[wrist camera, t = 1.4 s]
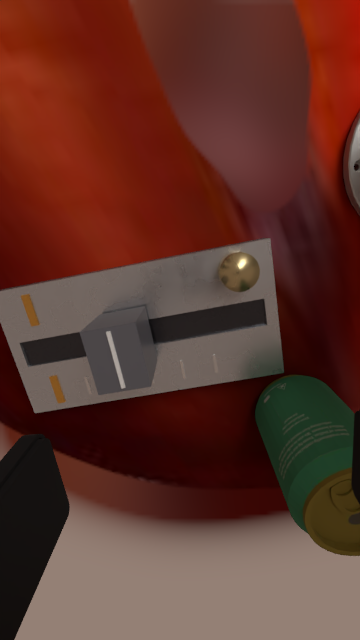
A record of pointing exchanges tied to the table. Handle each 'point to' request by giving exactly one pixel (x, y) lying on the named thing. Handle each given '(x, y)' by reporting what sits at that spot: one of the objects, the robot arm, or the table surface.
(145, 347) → the fader cap
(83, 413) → the table surface
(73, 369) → the console
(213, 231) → the table surface
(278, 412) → the beverage can
